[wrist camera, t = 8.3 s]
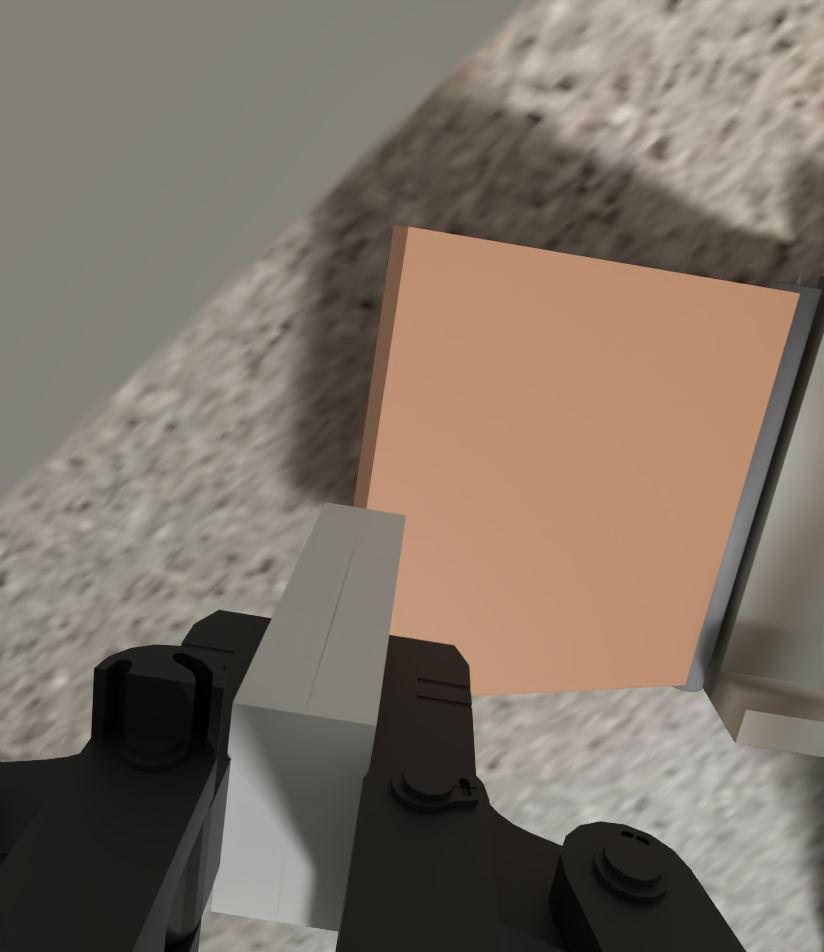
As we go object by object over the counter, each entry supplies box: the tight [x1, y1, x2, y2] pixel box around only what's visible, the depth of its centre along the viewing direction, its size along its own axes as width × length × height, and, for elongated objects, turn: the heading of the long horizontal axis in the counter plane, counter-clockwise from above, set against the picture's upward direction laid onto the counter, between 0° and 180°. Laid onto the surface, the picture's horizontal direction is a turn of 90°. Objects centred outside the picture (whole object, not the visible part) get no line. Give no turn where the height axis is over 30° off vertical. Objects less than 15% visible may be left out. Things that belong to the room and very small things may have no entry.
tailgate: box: [353, 225, 822, 696], centre depth 23 cm, size 1×13×13 cm
